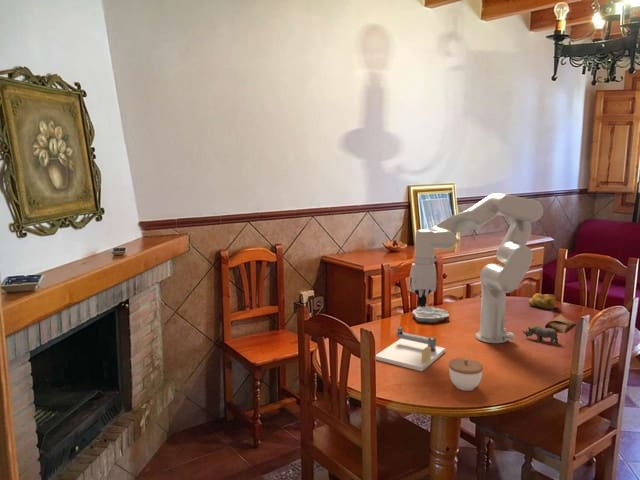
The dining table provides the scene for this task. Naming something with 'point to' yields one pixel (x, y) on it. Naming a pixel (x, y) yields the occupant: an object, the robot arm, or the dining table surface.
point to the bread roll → (543, 301)
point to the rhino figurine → (542, 333)
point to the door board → (410, 354)
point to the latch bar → (417, 338)
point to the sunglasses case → (560, 324)
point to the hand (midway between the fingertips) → (421, 305)
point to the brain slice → (430, 314)
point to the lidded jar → (465, 373)
